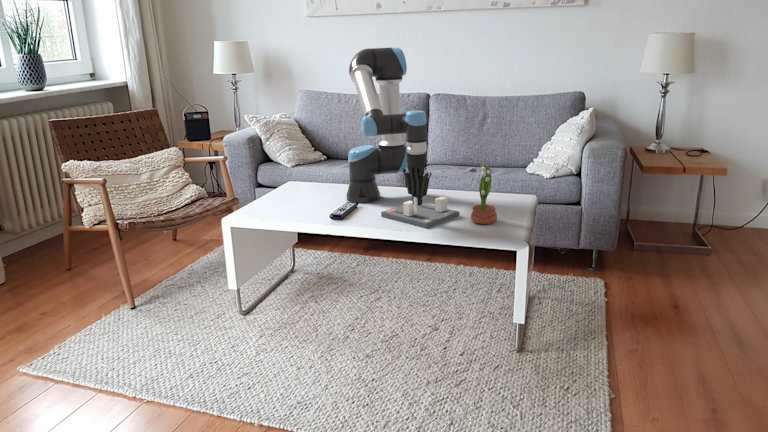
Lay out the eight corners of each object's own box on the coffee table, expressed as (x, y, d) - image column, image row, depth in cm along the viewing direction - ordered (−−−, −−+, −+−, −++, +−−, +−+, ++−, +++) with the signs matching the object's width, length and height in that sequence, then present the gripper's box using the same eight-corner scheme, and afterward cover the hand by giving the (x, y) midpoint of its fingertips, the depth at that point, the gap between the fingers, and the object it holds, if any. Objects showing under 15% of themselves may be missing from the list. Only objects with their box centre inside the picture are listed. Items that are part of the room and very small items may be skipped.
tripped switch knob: (403, 214, 227) (403, 202, 226) (410, 212, 230) (410, 200, 229) (409, 216, 225) (408, 203, 224) (416, 214, 228) (415, 201, 227)
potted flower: (496, 227, 216) (498, 161, 208) (469, 226, 218) (470, 161, 210) (497, 218, 227) (498, 155, 220) (471, 217, 229) (471, 154, 222)
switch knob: (435, 210, 231) (435, 198, 230) (441, 208, 234) (441, 196, 233) (441, 212, 229) (440, 199, 228) (447, 209, 232) (447, 197, 230)
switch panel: (381, 216, 234) (381, 211, 233) (414, 205, 247) (414, 201, 247) (426, 228, 217) (426, 223, 217) (459, 216, 231) (459, 211, 230)
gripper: (397, 152, 220) (398, 211, 227) (423, 156, 211) (423, 218, 218) (410, 149, 225) (411, 207, 232) (436, 153, 216) (436, 213, 223)
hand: (417, 212), depth 225 cm, fingers closed
